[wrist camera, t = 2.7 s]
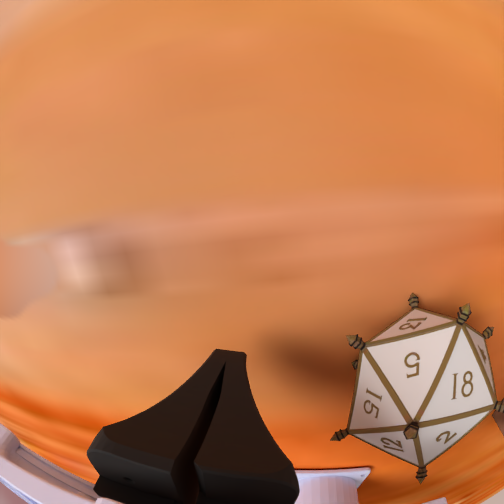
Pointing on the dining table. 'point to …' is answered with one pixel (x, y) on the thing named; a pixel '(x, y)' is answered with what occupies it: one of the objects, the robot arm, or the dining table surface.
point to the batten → (499, 420)
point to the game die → (421, 385)
